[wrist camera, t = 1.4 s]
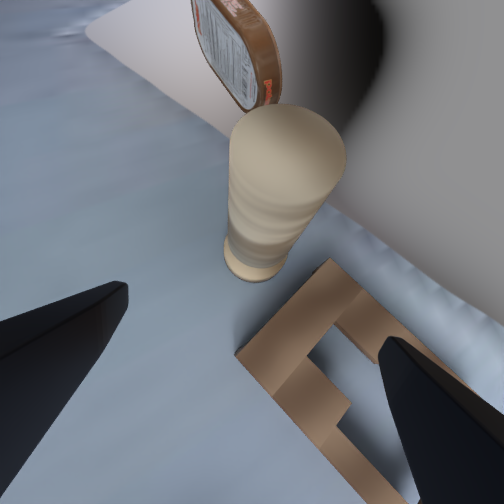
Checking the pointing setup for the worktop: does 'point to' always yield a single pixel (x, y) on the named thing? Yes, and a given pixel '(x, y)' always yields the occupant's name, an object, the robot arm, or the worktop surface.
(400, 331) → the brown rectangular frame
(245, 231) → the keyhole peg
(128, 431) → the worktop surface
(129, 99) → the worktop surface
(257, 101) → the tin
